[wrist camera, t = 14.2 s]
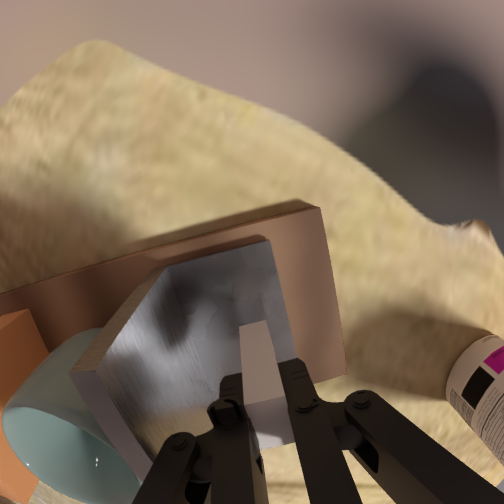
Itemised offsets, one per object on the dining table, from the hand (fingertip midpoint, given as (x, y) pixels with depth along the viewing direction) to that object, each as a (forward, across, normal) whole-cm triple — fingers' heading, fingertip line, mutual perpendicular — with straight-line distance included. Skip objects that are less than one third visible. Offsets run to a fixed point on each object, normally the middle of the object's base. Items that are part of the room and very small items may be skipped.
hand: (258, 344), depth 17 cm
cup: (+3, -10, -1) cm, 10 cm away
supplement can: (+4, +19, -13) cm, 24 cm away
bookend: (+2, -1, 0) cm, 3 cm away
